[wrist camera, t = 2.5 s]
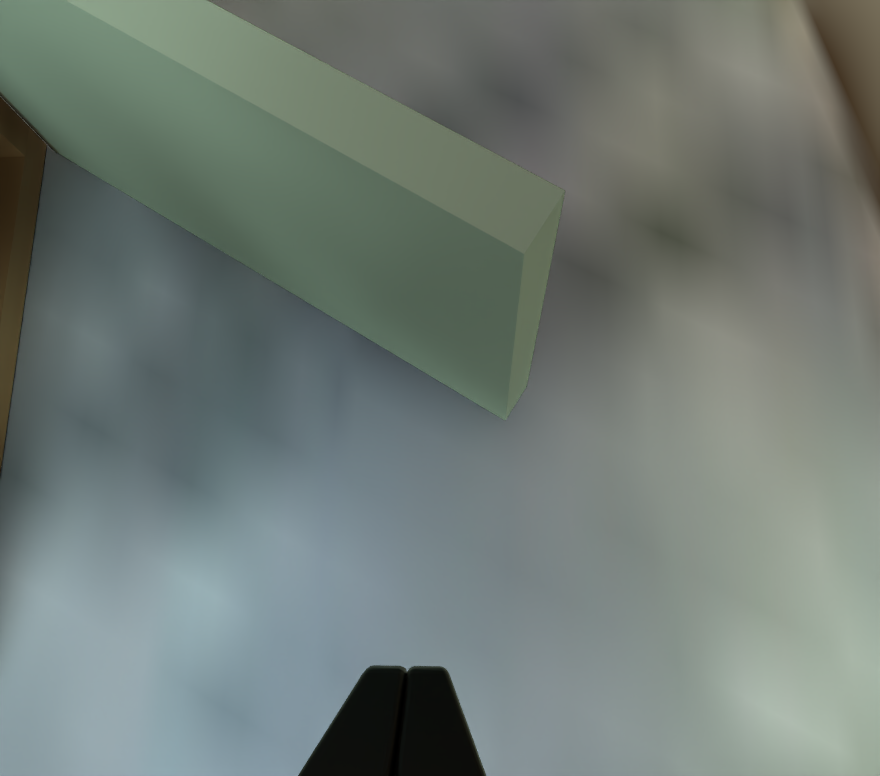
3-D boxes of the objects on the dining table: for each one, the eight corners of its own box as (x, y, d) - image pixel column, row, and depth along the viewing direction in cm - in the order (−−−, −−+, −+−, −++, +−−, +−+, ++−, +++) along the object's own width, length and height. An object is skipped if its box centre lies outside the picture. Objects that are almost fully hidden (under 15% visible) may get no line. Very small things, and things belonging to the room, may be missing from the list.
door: (549, 352, 18) (612, 108, 9) (504, 423, 18) (525, 242, 9) (89, 88, 21) (-225, -315, 11) (42, 146, 20) (-320, -222, 11)
